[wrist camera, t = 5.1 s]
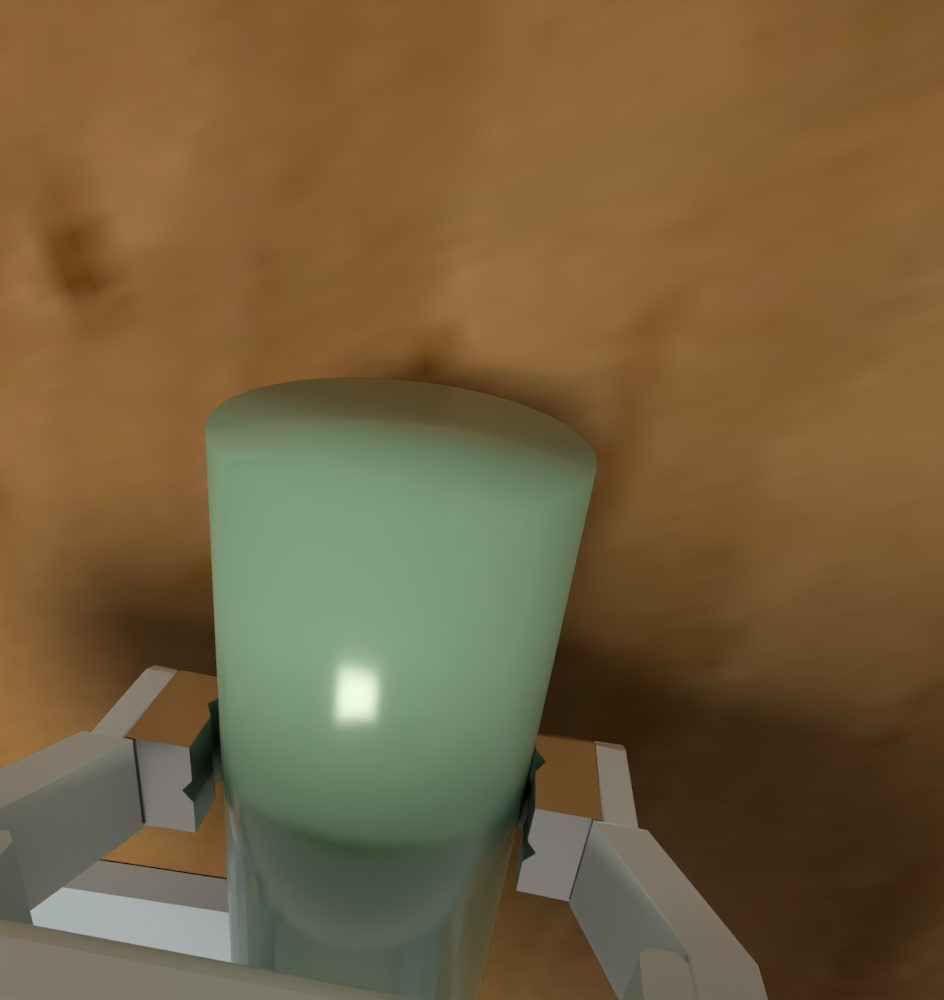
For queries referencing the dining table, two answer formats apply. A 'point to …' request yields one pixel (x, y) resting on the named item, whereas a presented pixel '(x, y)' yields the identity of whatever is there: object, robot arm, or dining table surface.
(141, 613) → the dining table surface
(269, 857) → the bottle
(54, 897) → the rest
